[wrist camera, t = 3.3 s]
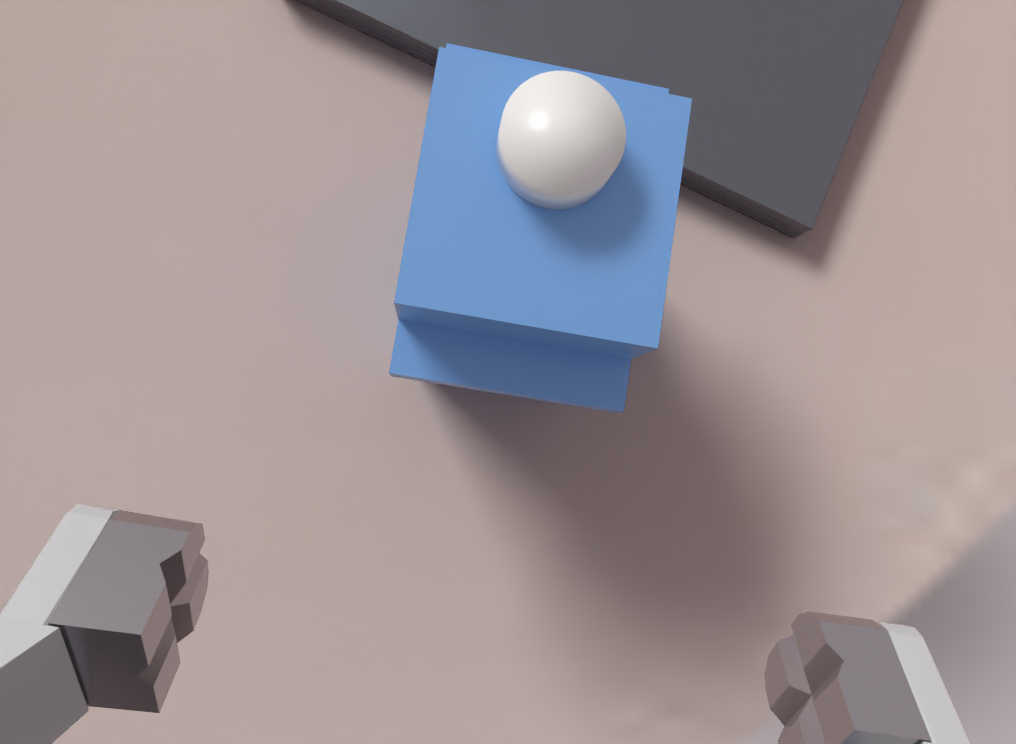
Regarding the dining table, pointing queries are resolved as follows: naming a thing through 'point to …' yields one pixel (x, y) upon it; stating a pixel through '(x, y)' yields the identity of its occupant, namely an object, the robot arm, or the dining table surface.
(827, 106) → the plate
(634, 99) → the block
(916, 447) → the dining table surface
